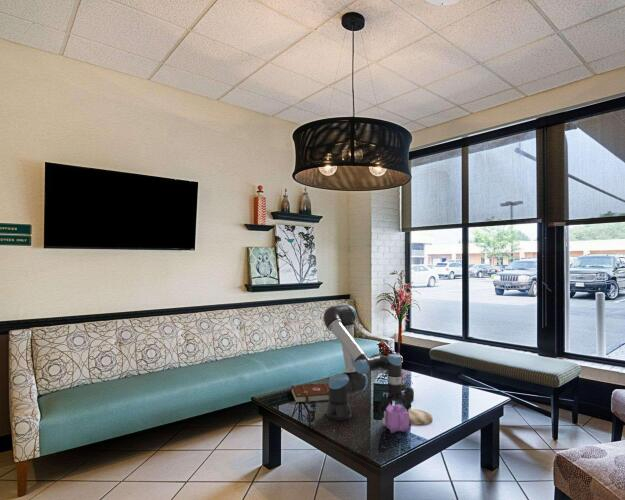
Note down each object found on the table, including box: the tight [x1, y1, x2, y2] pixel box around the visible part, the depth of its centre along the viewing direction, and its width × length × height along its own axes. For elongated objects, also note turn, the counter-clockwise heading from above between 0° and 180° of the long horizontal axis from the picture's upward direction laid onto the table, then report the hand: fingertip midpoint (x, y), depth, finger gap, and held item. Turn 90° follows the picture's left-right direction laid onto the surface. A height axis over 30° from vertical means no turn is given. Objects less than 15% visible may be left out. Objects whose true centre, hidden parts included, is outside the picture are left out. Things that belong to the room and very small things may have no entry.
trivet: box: [408, 408, 433, 426], centre depth 225 cm, size 20×20×1 cm
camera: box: [400, 382, 415, 402], centre depth 256 cm, size 13×10×10 cm
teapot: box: [384, 403, 410, 434], centre depth 212 cm, size 20×10×12 cm, turn 11°
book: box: [290, 383, 329, 403], centre depth 262 cm, size 23×32×5 cm
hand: (394, 421), depth 212 cm, fingers open, 12 cm apart
